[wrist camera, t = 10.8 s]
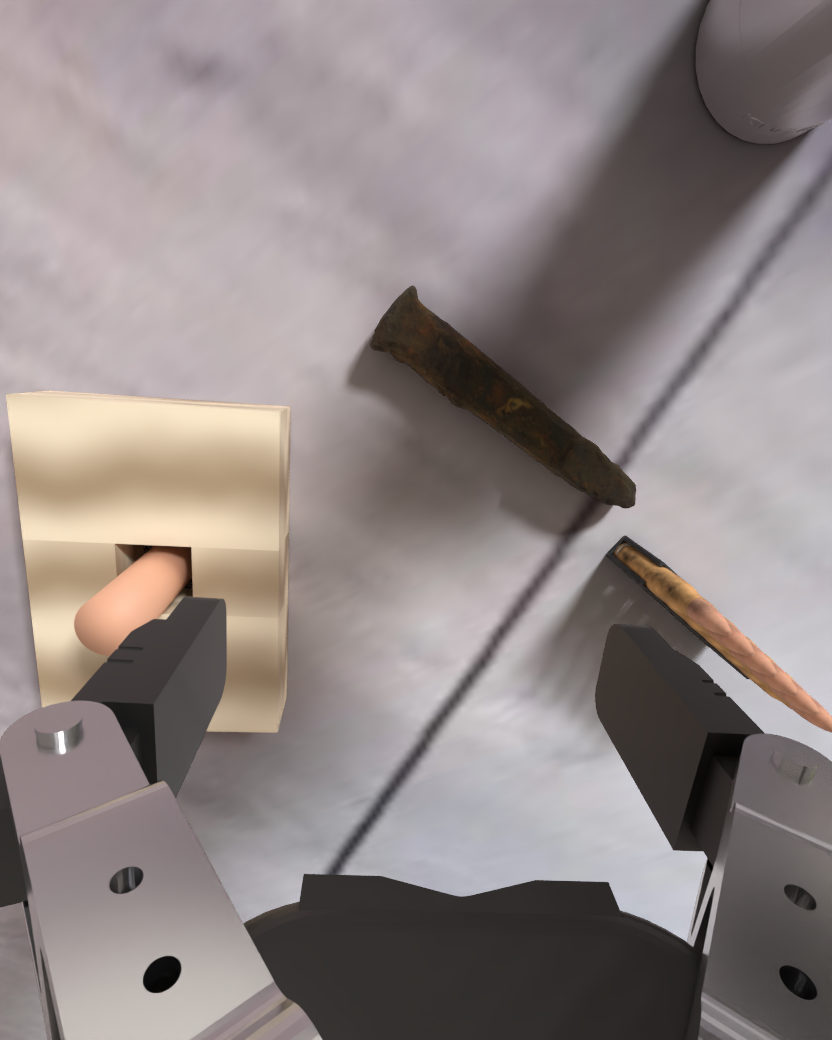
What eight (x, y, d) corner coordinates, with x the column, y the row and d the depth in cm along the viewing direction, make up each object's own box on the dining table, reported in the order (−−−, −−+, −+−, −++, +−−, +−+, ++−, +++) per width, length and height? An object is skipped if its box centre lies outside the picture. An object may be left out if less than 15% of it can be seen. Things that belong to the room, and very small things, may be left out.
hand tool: (364, 341, 34) (362, 339, 30) (406, 286, 33) (411, 275, 29) (587, 528, 38) (615, 550, 34) (629, 482, 38) (663, 499, 33)
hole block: (48, 390, 33) (6, 394, 30) (290, 406, 35) (279, 411, 31) (77, 692, 39) (44, 728, 35) (286, 696, 40) (277, 732, 36)
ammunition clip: (724, 626, 41) (862, 729, 29) (706, 644, 41) (835, 754, 30) (624, 534, 38) (731, 608, 27) (605, 554, 39) (702, 636, 27)
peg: (152, 534, 36) (71, 596, 26) (200, 536, 36) (138, 599, 27) (154, 578, 37) (76, 654, 27) (202, 580, 37) (141, 656, 28)
